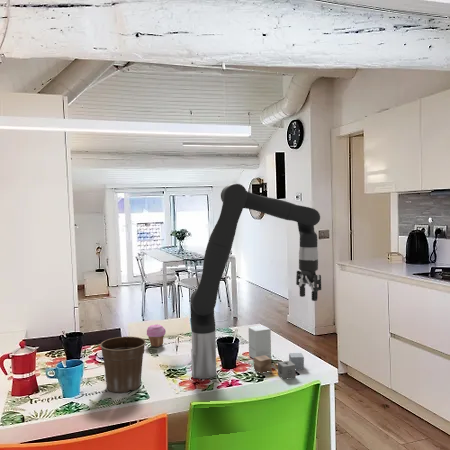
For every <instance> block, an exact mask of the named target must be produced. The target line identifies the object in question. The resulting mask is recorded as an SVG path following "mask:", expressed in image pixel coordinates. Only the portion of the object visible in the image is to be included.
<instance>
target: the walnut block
mask: <svg viewBox="0 0 450 450" xmlns="http://www.w3.org/2000/svg"><path fill="white" fill-rule="evenodd" d="M253 369H255V370H254V371H255V372H257V371H258V372H257V373H259V372H260V373H261V374H264V373H263V372H266V373H268V372H267V371H271V372H272V357H271V358H269V357H267V356H265V355H263V356H257V357H254V359H253ZM260 373H259V374H260Z"/></svg>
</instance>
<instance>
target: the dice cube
mask: <svg viewBox="0 0 450 450" xmlns="http://www.w3.org/2000/svg"><path fill="white" fill-rule="evenodd" d="M296 372H297V371H296V370H295V364H294V363H292V362H291V361H289V360H285V361H284V360H283V361H277V375H278V377H280V378H281V377H282V378H283V379H284V380H288V379H287V378H291V379H296V375H297V374H296ZM282 378H281V379H282ZM283 379H282V380H283Z"/></svg>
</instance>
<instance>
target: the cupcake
mask: <svg viewBox="0 0 450 450" xmlns="http://www.w3.org/2000/svg"><path fill="white" fill-rule="evenodd" d="M165 335H166V328H165V327H164V326H163V325H161V324H158V323H157V324H151V325H149V326H148V327H147V329H146V336H147V337H148V340H149V343H150V346H151V347H156V348H158V347H160V346H162V345H163V344H164V336H165Z"/></svg>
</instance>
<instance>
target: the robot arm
mask: <svg viewBox="0 0 450 450" xmlns="http://www.w3.org/2000/svg"><path fill="white" fill-rule="evenodd" d="M220 199H221V201H222V205H221V211H220V214H219V217H218V220H217V221H216V223H215V225H214V227H213V229H212V232H211V234H210V235H209V239H208V242H207V245H206V248H205V251H204V252H205V253H204V256H203V257H204V258H203V263H202V273H201V277H200V281H199V284H198V286H197V288H195V290H194V291H192V293H191V296H190V300H189V302H190V303H189V304H190V309H189V310H190V325H191V348H190V351H191V353H190V354H191V374H192V378H193V379H201V380H204V379H207V380H208V379H211V378H214V377H216V376H217V345H216V343H217V341H216V340H217V339H216V337H217V336H216V334H217V333H216V318H215V308H216V305H217V298H218V292H219V287H220V284H221V279H222V277H223V275H224V272H225V269H226V267H227V263H228V261H229V257H230V255H231V251H232V248H233V243H234V239H235V236H236V231H237V228H238V222H239V220H240V217H241V214H242V212H243V210H244V209H247V210H251V211H255V212H259V213H262V214H265V215H269V216H272V217H274V218H277V219H282V220H285V221H291V222H296V224H297V228H298V233H299V250H298V269H299V270H296V276H295V277H296V278H295V280H296V281H295V284H296V286H298V288H299V297H303V298H304V297H305V296H306V285H308V287H310V290H311V301H313V302H316V301H318V298H319V297H318V292H319V291H322V275H321V274H317V273H316V272H317V271H318V270H319V250H318V249H319V248H318V234H317V232H316V231H315V226H316V225H318V223H319V222H320V220H321V214H320V213H319V210H317V209H316V208H314V207H310V206H304V205H299V204H295V203H292V202H290V201H286V200H282V199H279V198H275V197H274V198H273V197H270V196H269V197H268V196H264V195H259V194H255V193H252V192H251V191H248V190H247V189H246V188H245V186H244V185H243V184H241V183H230V184H227V185H226V186H224V187H223V188H222V190H221V192H220Z"/></svg>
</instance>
